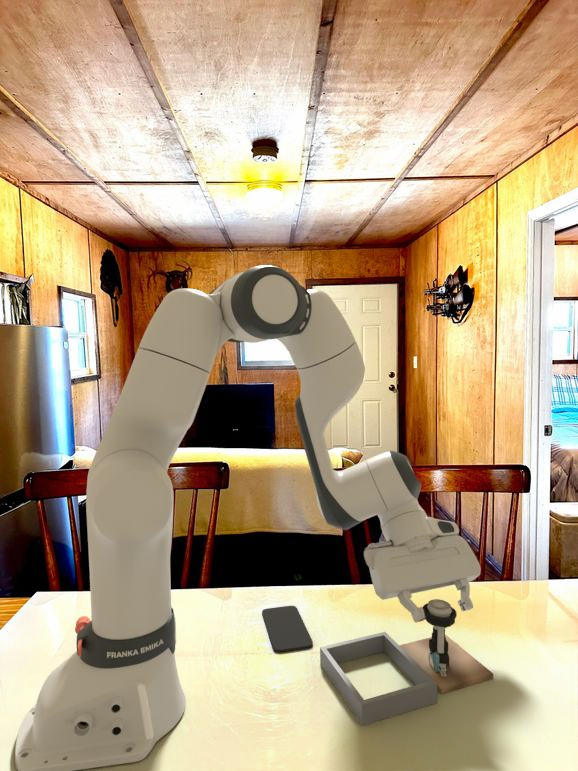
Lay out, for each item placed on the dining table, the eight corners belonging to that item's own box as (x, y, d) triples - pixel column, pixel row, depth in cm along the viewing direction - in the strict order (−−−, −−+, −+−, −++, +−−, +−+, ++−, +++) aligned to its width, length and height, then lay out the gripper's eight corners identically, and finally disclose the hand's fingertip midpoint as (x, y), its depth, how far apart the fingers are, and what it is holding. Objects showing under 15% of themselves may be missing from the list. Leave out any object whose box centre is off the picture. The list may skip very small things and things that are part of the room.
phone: (295, 604, 100) (314, 644, 85) (295, 608, 100) (314, 649, 85) (260, 609, 98) (274, 650, 83) (260, 613, 98) (274, 655, 83)
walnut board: (441, 694, 72) (441, 689, 72) (397, 650, 84) (397, 645, 84) (493, 678, 76) (493, 673, 76) (444, 638, 87) (444, 633, 87)
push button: (461, 680, 74) (462, 618, 74) (426, 678, 75) (427, 616, 74) (450, 655, 81) (452, 597, 80) (418, 652, 81) (420, 595, 81)
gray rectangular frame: (362, 725, 66) (361, 705, 66) (320, 664, 80) (320, 647, 80) (437, 702, 71) (437, 683, 70) (385, 648, 84) (385, 631, 84)
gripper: (366, 537, 82) (398, 621, 73) (463, 522, 89) (503, 596, 80) (354, 553, 86) (383, 634, 77) (447, 537, 93) (483, 610, 84)
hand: (445, 615), depth 79 cm, fingers open, 8 cm apart
